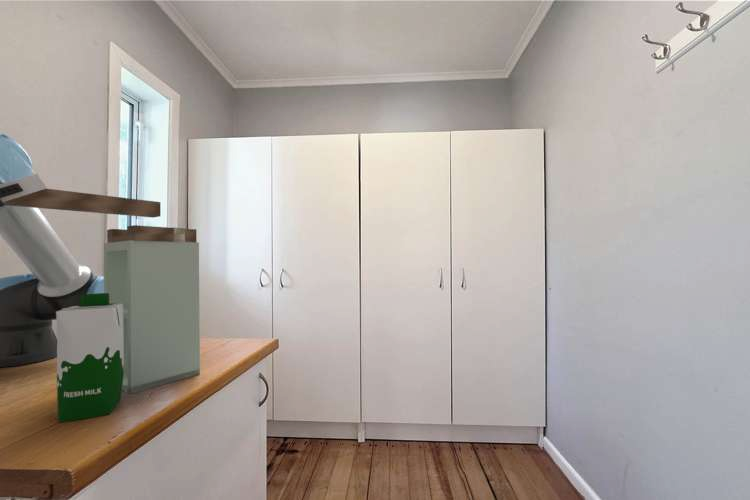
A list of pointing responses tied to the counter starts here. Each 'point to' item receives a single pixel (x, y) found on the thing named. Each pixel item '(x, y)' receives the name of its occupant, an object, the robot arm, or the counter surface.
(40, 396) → the counter surface
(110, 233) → the banded slat
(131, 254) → the shelf unit
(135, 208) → the plain slat
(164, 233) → the banded slat
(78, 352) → the milk carton
